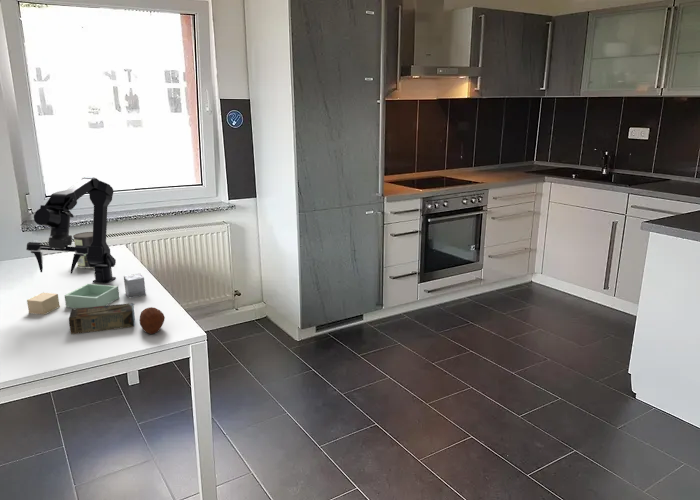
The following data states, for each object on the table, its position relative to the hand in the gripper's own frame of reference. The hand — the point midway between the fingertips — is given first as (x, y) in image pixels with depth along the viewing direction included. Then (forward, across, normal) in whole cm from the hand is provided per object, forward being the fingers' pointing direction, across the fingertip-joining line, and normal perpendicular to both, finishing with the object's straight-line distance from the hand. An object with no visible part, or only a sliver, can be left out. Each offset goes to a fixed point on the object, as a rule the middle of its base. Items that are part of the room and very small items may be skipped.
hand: (56, 272), depth 187 cm
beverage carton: (+17, +17, -19) cm, 30 cm away
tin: (+7, +27, +7) cm, 28 cm away
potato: (+17, +31, -28) cm, 45 cm away
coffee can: (-4, +9, +51) cm, 52 cm away
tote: (+10, +12, +4) cm, 16 cm away
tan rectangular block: (+13, -3, +3) cm, 14 cm away
